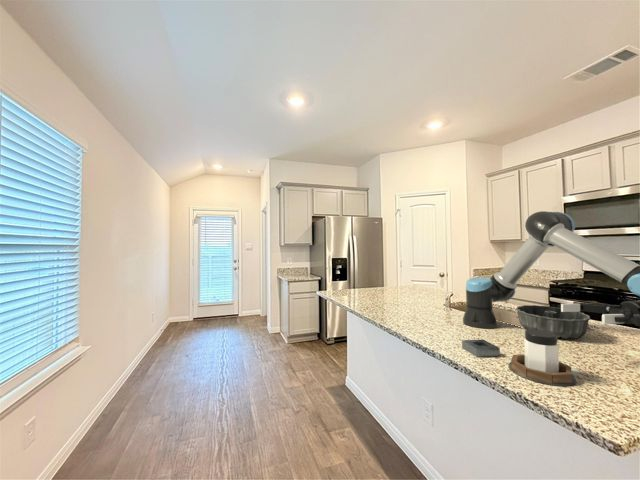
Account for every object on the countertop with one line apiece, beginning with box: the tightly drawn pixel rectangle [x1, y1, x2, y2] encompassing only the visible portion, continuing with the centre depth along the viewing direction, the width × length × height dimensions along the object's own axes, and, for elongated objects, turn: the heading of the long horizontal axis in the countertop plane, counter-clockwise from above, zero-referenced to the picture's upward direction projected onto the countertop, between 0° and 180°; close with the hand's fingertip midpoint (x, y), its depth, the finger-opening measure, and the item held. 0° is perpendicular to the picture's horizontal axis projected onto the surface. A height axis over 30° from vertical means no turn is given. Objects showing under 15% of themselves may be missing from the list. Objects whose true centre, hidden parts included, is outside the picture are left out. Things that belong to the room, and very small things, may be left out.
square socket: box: [461, 339, 501, 358], centre depth 106 cm, size 9×9×3 cm
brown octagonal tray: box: [508, 353, 577, 387], centre depth 89 cm, size 17×17×3 cm
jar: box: [523, 329, 560, 373], centre depth 90 cm, size 9×8×12 cm
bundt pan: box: [515, 304, 591, 340], centre depth 128 cm, size 26×26×10 cm
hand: (581, 313), depth 92 cm, fingers open, 13 cm apart
